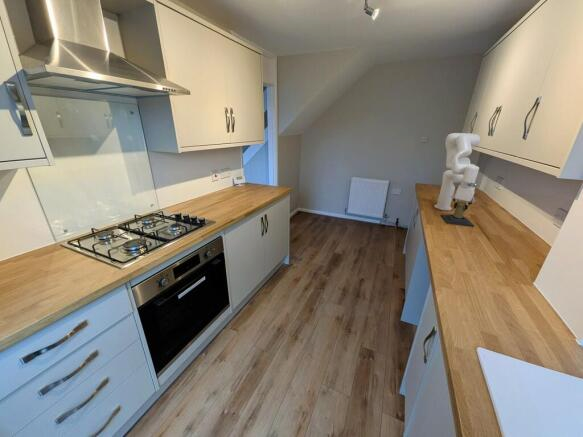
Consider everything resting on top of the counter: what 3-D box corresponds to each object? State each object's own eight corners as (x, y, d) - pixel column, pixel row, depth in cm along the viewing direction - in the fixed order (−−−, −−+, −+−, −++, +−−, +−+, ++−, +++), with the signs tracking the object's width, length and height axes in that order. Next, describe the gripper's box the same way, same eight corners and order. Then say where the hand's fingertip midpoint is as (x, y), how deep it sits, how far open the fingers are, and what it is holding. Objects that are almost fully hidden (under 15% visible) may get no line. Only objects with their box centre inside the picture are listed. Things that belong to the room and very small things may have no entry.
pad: (441, 215, 181) (442, 212, 180) (465, 218, 176) (466, 214, 175) (446, 223, 166) (448, 219, 165) (473, 226, 162) (474, 222, 161)
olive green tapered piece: (464, 218, 167) (468, 203, 163) (454, 217, 168) (459, 203, 164) (460, 215, 172) (464, 201, 168) (451, 214, 173) (455, 200, 169)
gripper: (484, 185, 158) (475, 211, 165) (454, 181, 169) (448, 205, 176) (481, 187, 153) (472, 213, 160) (451, 182, 165) (444, 207, 171)
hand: (459, 209), depth 168 cm, fingers closed on olive green tapered piece, 5 cm apart
